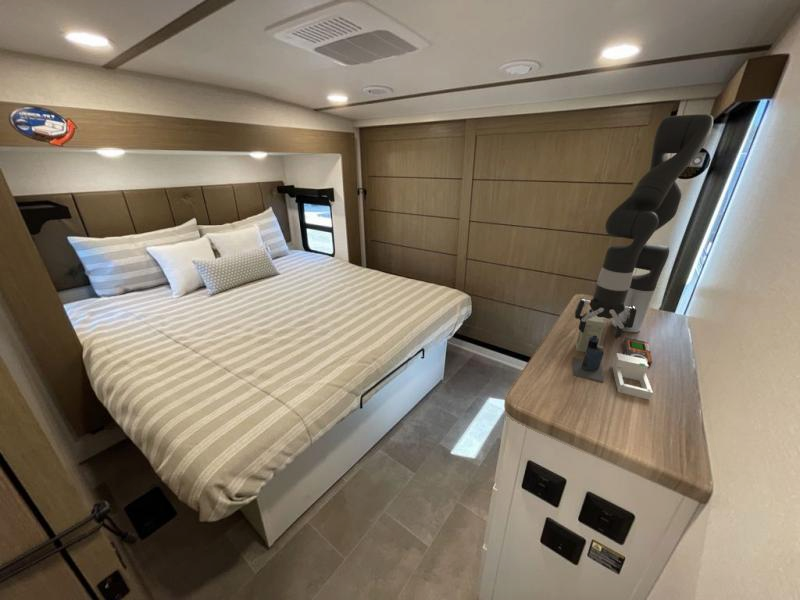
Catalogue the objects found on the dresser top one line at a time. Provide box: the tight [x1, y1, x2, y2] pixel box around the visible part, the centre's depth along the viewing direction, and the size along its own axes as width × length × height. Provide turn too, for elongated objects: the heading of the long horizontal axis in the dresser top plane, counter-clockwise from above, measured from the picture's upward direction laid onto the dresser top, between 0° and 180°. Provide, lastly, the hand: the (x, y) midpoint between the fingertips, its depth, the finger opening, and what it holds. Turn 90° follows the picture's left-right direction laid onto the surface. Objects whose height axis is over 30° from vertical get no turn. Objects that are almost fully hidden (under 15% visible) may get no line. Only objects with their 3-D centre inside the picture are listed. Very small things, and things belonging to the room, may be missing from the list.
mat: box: [572, 356, 605, 383], centre depth 96 cm, size 10×8×1 cm
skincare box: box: [575, 315, 606, 353], centre depth 104 cm, size 6×4×12 cm
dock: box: [611, 351, 654, 401], centre depth 94 cm, size 24×8×5 cm, turn 153°
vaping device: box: [582, 335, 605, 371], centre depth 94 cm, size 3×5×12 cm, turn 96°
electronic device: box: [623, 336, 653, 367], centre depth 103 cm, size 7×3×15 cm
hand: (597, 334), depth 91 cm, fingers open, 8 cm apart
